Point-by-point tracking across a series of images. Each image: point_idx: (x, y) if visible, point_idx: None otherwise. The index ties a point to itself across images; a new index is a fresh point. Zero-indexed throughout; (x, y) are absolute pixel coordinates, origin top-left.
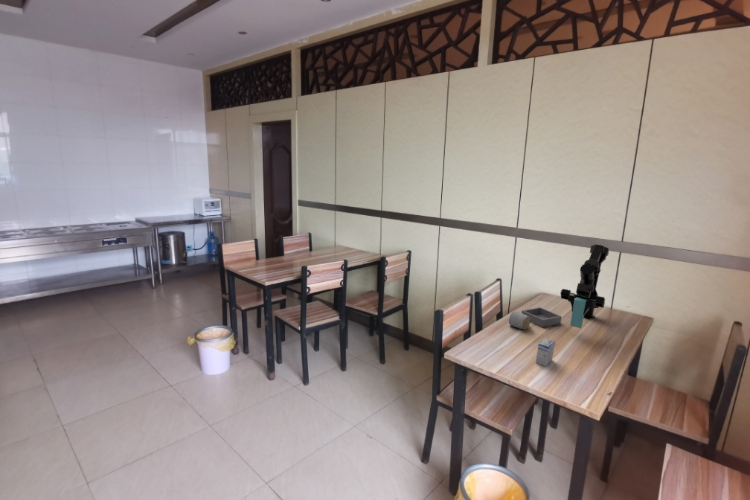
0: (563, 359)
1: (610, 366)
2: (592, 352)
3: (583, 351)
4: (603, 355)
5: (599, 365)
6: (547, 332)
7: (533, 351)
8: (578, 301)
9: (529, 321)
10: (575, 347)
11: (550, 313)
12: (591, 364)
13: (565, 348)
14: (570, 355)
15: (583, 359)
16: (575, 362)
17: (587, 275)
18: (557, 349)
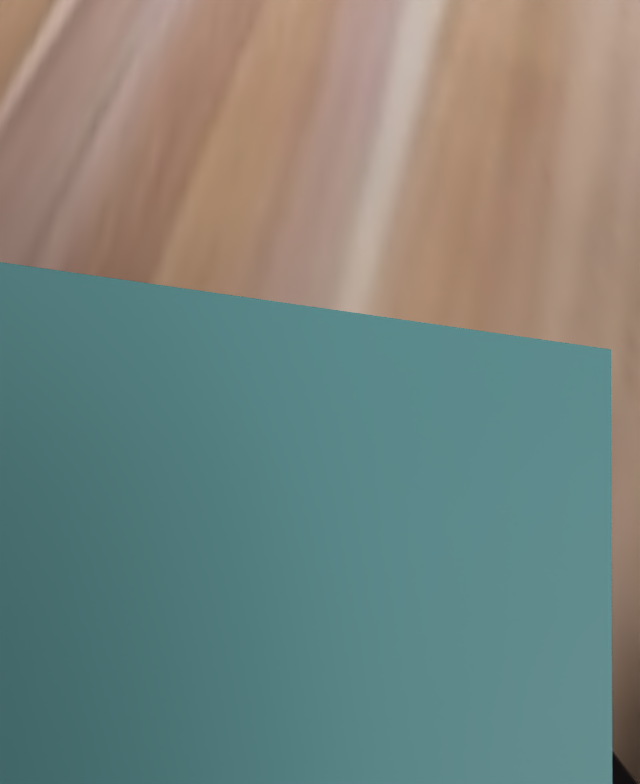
0: (373, 7)
1: (22, 70)
2: (129, 249)
3: (212, 226)
4: (34, 239)
5: (107, 46)
6: (619, 530)
7: (609, 18)
8: (315, 335)
9: None
10: (284, 275)
11: None
12: (167, 33)
13: (374, 202)
14: (325, 94)
15: (222, 79)
16: (285, 6)
17: None
18: (439, 146)
